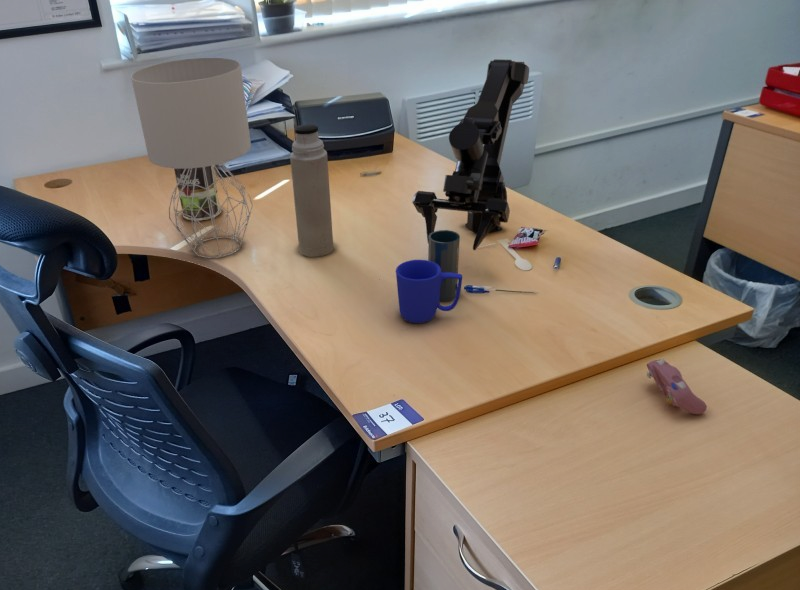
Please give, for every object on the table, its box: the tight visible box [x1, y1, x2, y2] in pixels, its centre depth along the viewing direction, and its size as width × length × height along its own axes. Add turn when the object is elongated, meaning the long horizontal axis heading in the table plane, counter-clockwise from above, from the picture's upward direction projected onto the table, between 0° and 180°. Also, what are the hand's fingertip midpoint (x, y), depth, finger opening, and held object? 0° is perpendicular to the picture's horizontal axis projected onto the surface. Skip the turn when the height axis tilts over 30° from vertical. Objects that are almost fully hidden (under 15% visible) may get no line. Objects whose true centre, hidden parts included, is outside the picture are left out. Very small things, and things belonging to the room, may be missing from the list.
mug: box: [395, 259, 463, 324], centre depth 127 cm, size 8×12×10 cm
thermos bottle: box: [289, 123, 334, 258], centre depth 150 cm, size 8×8×28 cm
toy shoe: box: [645, 358, 708, 415], centre depth 104 cm, size 10×5×7 cm, turn 5°
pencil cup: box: [427, 229, 461, 303], centre depth 133 cm, size 6×6×13 cm
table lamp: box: [130, 57, 254, 259], centre depth 151 cm, size 22×22×40 cm
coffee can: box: [173, 165, 222, 222], centre depth 177 cm, size 10×10×14 cm
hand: (451, 246), depth 136 cm, fingers open, 9 cm apart
